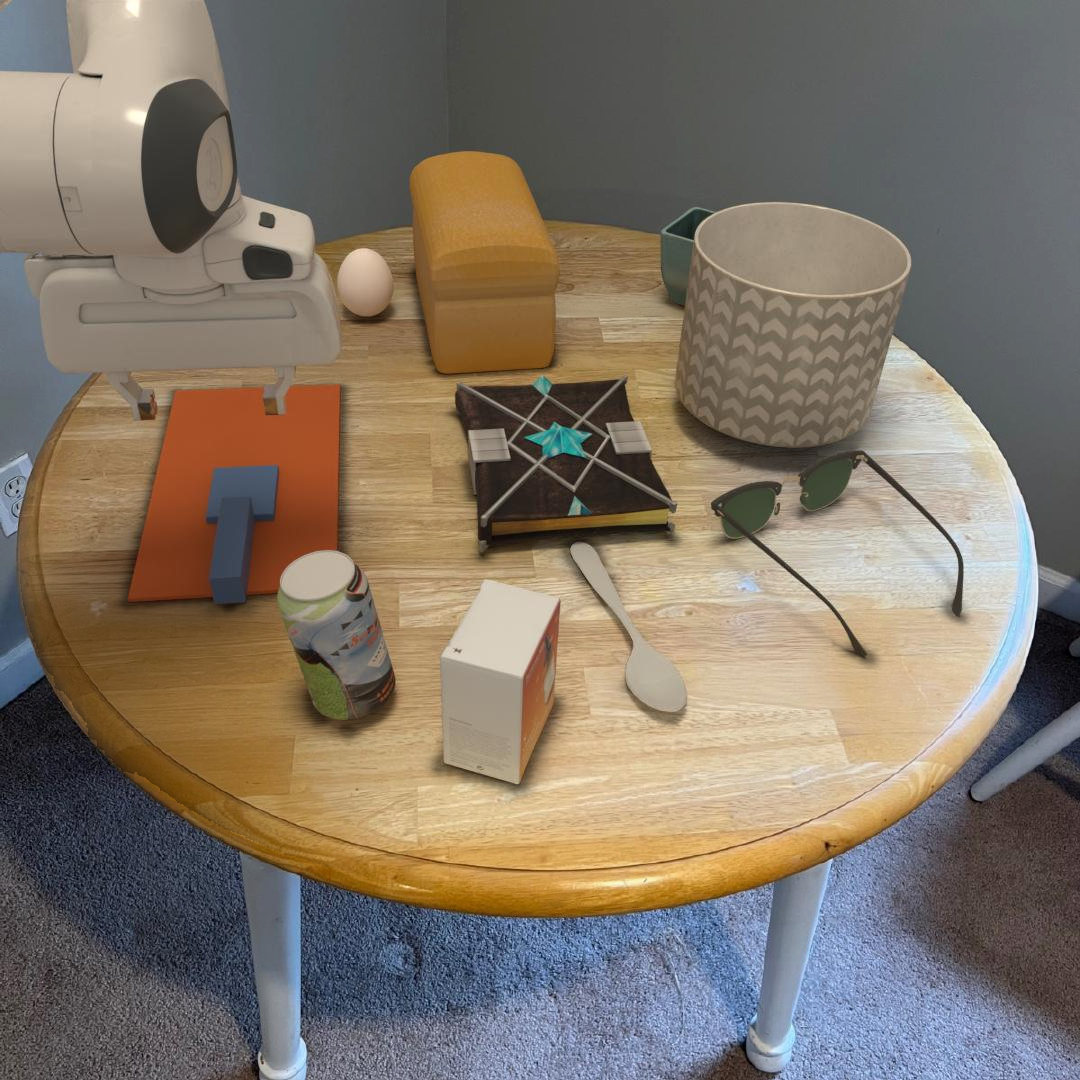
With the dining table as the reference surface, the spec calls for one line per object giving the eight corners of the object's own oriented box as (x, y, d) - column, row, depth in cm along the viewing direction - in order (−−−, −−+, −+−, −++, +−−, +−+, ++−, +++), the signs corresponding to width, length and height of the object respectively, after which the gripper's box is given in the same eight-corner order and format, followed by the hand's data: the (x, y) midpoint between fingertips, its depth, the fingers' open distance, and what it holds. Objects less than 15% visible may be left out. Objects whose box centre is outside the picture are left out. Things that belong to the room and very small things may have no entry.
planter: (758, 497, 98) (796, 316, 87) (633, 397, 110) (651, 226, 99) (905, 437, 106) (958, 265, 95) (774, 350, 118) (806, 187, 107)
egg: (335, 304, 123) (329, 240, 118) (389, 298, 124) (385, 235, 119) (345, 330, 118) (339, 265, 114) (400, 323, 120) (396, 259, 115)
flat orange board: (336, 589, 87) (336, 585, 87) (128, 602, 85) (127, 598, 85) (340, 387, 110) (340, 384, 109) (176, 393, 108) (175, 390, 108)
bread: (556, 368, 114) (564, 232, 104) (433, 375, 112) (429, 238, 102) (518, 263, 132) (522, 139, 123) (412, 268, 130) (406, 142, 121)
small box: (519, 788, 73) (523, 680, 66) (441, 764, 74) (437, 656, 67) (556, 702, 79) (563, 596, 72) (483, 682, 80) (484, 575, 73)
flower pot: (752, 297, 128) (765, 224, 122) (720, 327, 122) (732, 252, 116) (684, 277, 131) (694, 204, 125) (650, 305, 125) (658, 231, 119)
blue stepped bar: (267, 601, 85) (262, 574, 83) (192, 605, 84) (186, 579, 83) (279, 471, 98) (275, 446, 96) (215, 474, 97) (210, 448, 96)
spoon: (646, 730, 77) (648, 715, 76) (553, 547, 92) (554, 532, 91) (699, 718, 78) (703, 702, 77) (600, 539, 93) (601, 524, 92)
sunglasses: (832, 673, 82) (847, 625, 79) (700, 542, 93) (708, 496, 90) (988, 603, 88) (1007, 557, 85) (847, 489, 100) (859, 444, 96)
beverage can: (391, 732, 76) (381, 607, 68) (285, 728, 76) (263, 603, 68) (401, 666, 81) (392, 542, 73) (301, 662, 81) (282, 538, 73)
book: (455, 413, 107) (454, 368, 104) (623, 404, 109) (627, 360, 106) (478, 554, 90) (478, 505, 87) (676, 540, 93) (683, 492, 89)
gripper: (4, 262, 69) (57, 443, 78) (332, 255, 72) (347, 431, 80) (27, 221, 74) (74, 396, 83) (333, 216, 77) (348, 386, 85)
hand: (211, 413), depth 82 cm, fingers open, 8 cm apart
